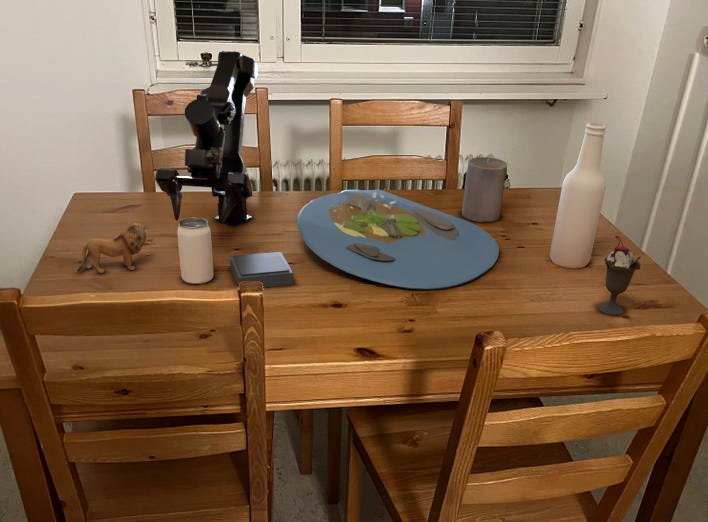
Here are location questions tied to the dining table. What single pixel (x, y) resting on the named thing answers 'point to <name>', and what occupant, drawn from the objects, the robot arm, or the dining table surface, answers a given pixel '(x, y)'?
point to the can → (195, 250)
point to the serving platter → (395, 240)
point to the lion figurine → (115, 247)
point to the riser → (262, 269)
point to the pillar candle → (484, 189)
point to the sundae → (618, 276)
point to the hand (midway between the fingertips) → (198, 221)
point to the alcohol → (580, 204)
